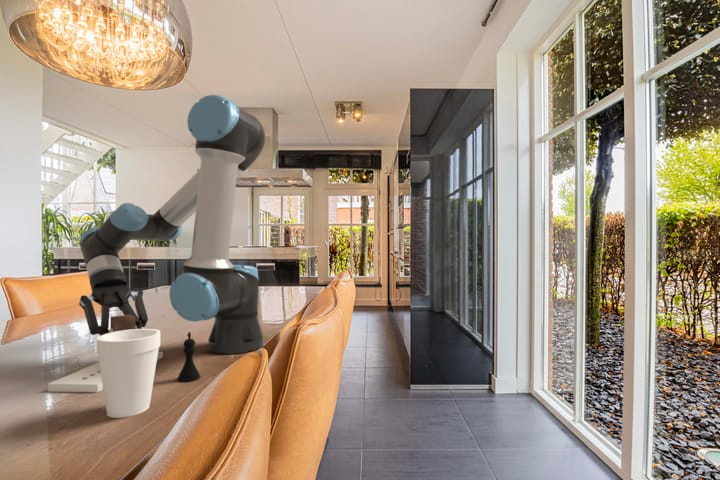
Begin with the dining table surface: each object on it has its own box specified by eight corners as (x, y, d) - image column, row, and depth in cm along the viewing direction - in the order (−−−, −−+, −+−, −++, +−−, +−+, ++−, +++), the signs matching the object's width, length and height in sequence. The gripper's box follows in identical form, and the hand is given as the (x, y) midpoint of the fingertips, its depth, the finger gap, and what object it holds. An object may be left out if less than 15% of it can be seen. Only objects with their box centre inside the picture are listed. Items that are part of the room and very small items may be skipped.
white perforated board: (162, 357, 93) (162, 351, 93) (97, 392, 71) (97, 384, 71) (124, 357, 93) (124, 350, 93) (47, 391, 71) (47, 383, 71)
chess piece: (174, 383, 75) (175, 335, 76) (180, 375, 80) (181, 330, 80) (197, 381, 76) (198, 333, 77) (201, 374, 81) (202, 329, 81)
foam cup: (116, 398, 68) (118, 329, 68) (168, 397, 68) (169, 328, 69) (82, 423, 58) (83, 342, 58) (142, 421, 59) (143, 341, 59)
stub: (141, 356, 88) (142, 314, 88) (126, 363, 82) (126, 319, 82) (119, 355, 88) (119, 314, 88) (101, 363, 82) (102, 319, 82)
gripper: (140, 283, 102) (163, 354, 91) (62, 289, 89) (78, 372, 78) (147, 265, 98) (172, 336, 87) (67, 268, 85) (84, 352, 74)
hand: (127, 353), depth 83 cm, fingers closed on stub, 4 cm apart
